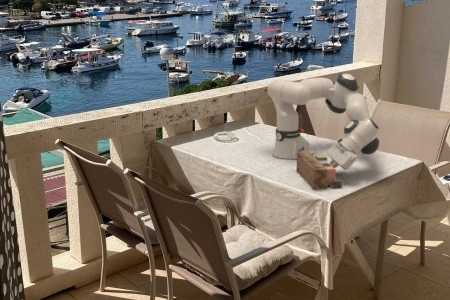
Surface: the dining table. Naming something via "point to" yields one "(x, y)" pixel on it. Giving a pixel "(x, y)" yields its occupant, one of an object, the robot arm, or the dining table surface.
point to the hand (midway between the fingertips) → (328, 169)
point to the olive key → (321, 157)
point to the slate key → (324, 163)
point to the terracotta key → (330, 174)
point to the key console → (314, 172)
